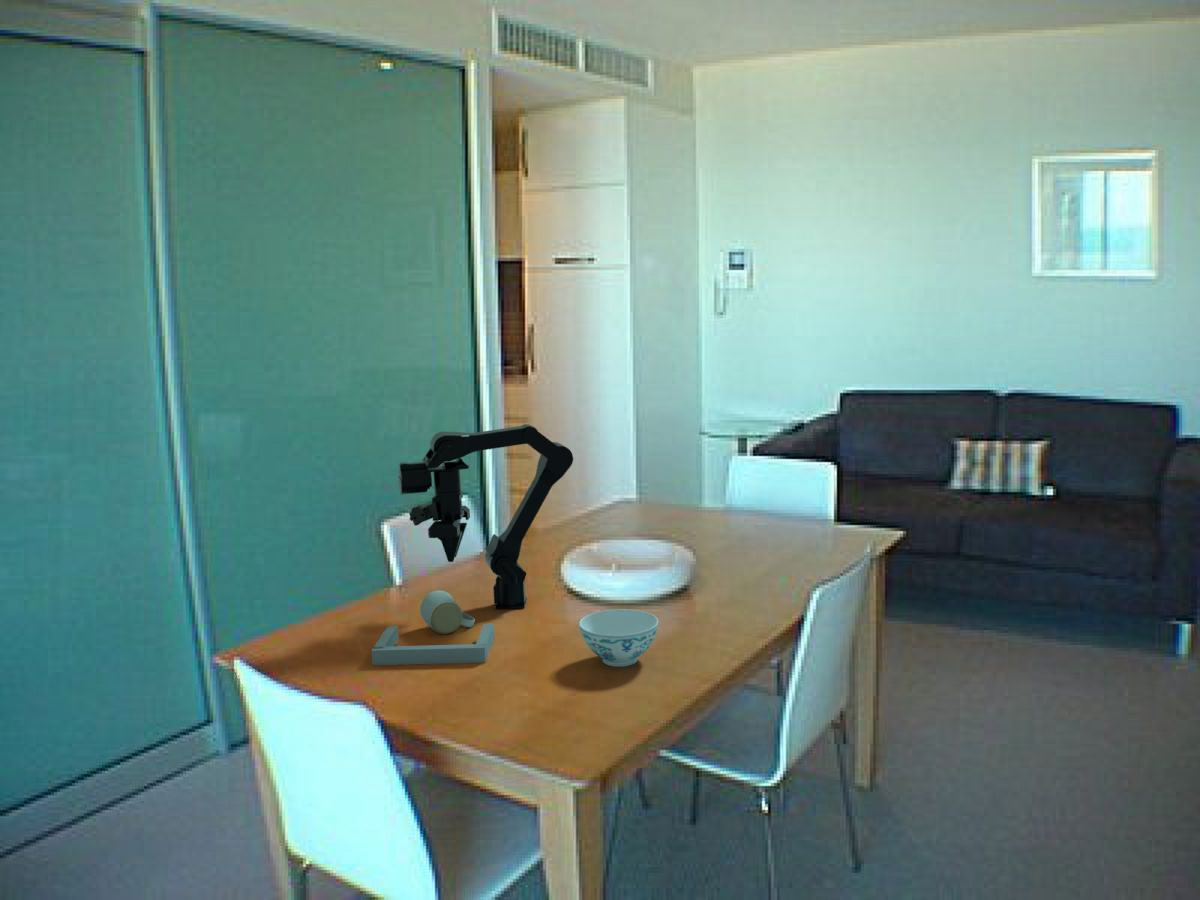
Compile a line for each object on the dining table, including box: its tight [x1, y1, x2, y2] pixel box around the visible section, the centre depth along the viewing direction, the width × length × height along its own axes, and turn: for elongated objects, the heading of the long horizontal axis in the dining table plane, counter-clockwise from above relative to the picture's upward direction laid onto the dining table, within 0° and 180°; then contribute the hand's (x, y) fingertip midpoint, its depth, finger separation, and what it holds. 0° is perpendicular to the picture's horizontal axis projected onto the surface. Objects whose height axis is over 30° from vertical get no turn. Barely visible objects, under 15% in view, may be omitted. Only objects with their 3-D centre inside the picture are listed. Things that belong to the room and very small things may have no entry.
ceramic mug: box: [419, 590, 476, 635], centre depth 229 cm, size 11×8×8 cm
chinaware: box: [578, 608, 659, 667], centre depth 207 cm, size 15×15×8 cm
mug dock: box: [371, 623, 496, 666], centre depth 216 cm, size 22×14×3 cm, turn 88°
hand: (452, 559), depth 238 cm, fingers open, 3 cm apart
